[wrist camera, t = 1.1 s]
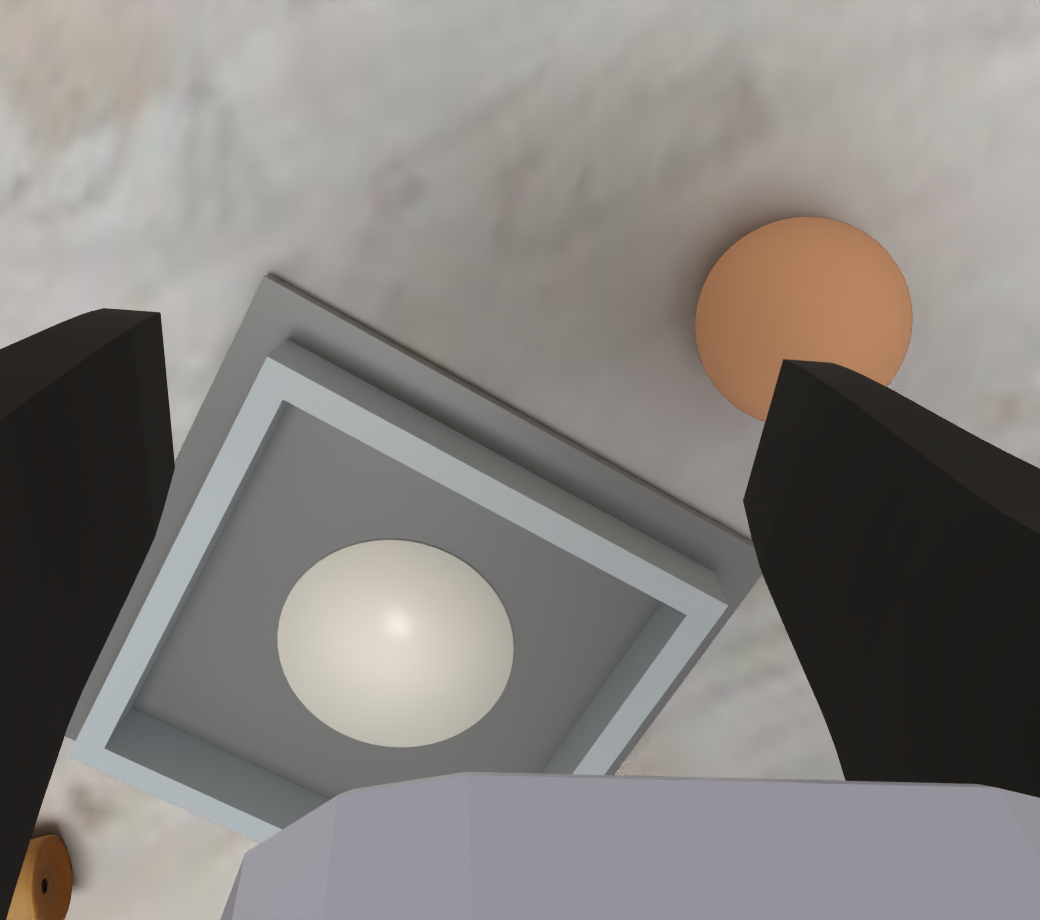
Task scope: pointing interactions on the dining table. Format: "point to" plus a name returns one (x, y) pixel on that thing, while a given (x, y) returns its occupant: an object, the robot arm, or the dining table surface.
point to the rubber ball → (800, 308)
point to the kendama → (43, 882)
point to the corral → (390, 588)
